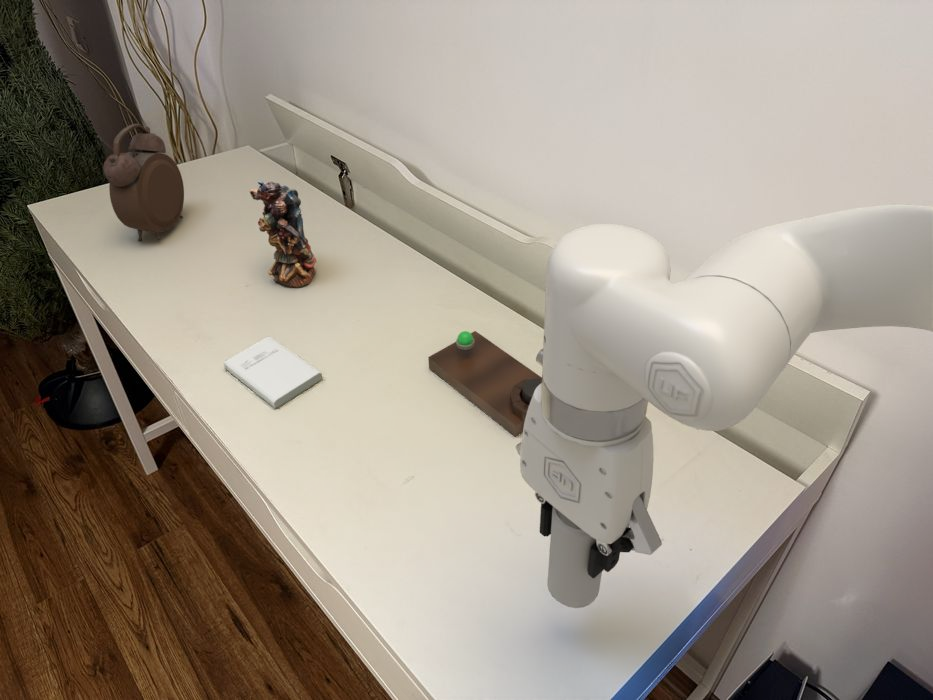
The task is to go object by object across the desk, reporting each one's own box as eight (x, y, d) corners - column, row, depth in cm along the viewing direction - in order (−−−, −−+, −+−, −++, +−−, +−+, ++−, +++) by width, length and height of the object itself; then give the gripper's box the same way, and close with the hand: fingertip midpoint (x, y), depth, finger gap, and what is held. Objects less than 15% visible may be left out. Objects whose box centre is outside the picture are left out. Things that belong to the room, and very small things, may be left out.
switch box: (575, 413, 93) (577, 391, 91) (527, 446, 89) (528, 425, 86) (475, 341, 105) (475, 321, 103) (428, 368, 101) (427, 347, 98)
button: (555, 397, 91) (556, 388, 90) (535, 411, 89) (536, 401, 88) (535, 383, 93) (536, 374, 92) (516, 396, 91) (516, 386, 90)
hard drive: (275, 410, 95) (225, 369, 101) (323, 379, 99) (272, 342, 106) (273, 401, 94) (222, 361, 100) (321, 371, 98) (269, 334, 105)
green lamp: (478, 345, 99) (478, 333, 97) (464, 353, 97) (464, 341, 96) (466, 336, 100) (466, 324, 99) (452, 344, 99) (452, 332, 98)
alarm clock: (162, 210, 138) (129, 111, 125) (196, 213, 137) (165, 113, 124) (120, 248, 127) (79, 144, 114) (156, 252, 126) (119, 147, 113)
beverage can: (602, 611, 63) (615, 531, 56) (549, 611, 63) (555, 532, 56) (595, 565, 67) (606, 484, 59) (545, 565, 67) (550, 485, 60)
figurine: (248, 291, 116) (222, 194, 105) (268, 262, 123) (246, 167, 111) (310, 297, 115) (290, 198, 103) (327, 266, 122) (310, 171, 110)
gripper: (475, 361, 53) (481, 511, 64) (659, 492, 43) (626, 642, 54) (544, 320, 56) (538, 469, 68) (729, 431, 46) (684, 584, 58)
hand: (577, 544), depth 61 cm, fingers closed on beverage can, 4 cm apart
